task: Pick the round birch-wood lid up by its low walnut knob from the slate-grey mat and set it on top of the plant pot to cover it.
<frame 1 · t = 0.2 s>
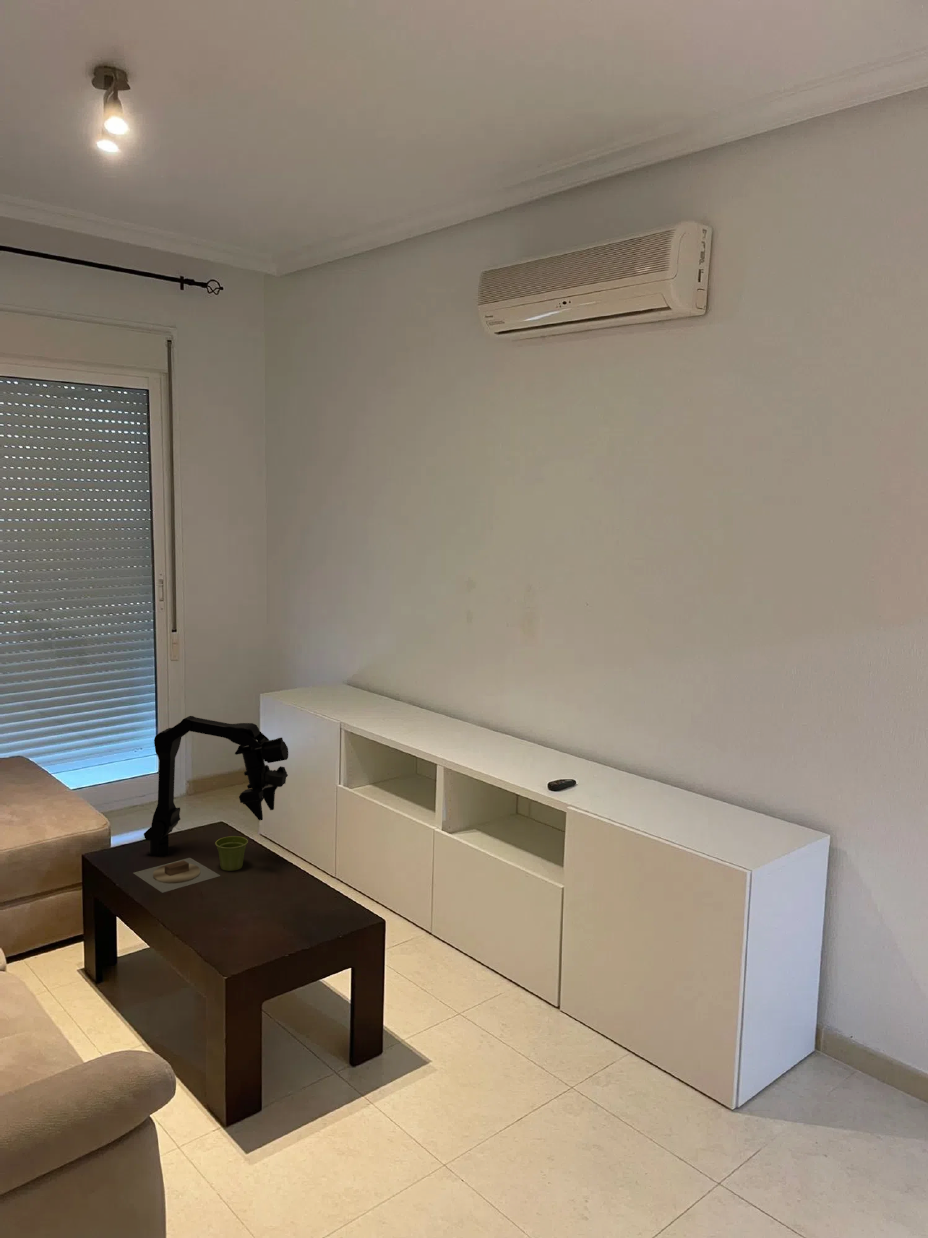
hand: (266, 815, 273), 15 cm above the table, tool pointing down, fingers open, 9 cm apart
mat: (176, 877, 262), on the table
lid: (176, 874, 262), point 1 cm above the table, touching mat
plant pot: (231, 870, 269), on the table
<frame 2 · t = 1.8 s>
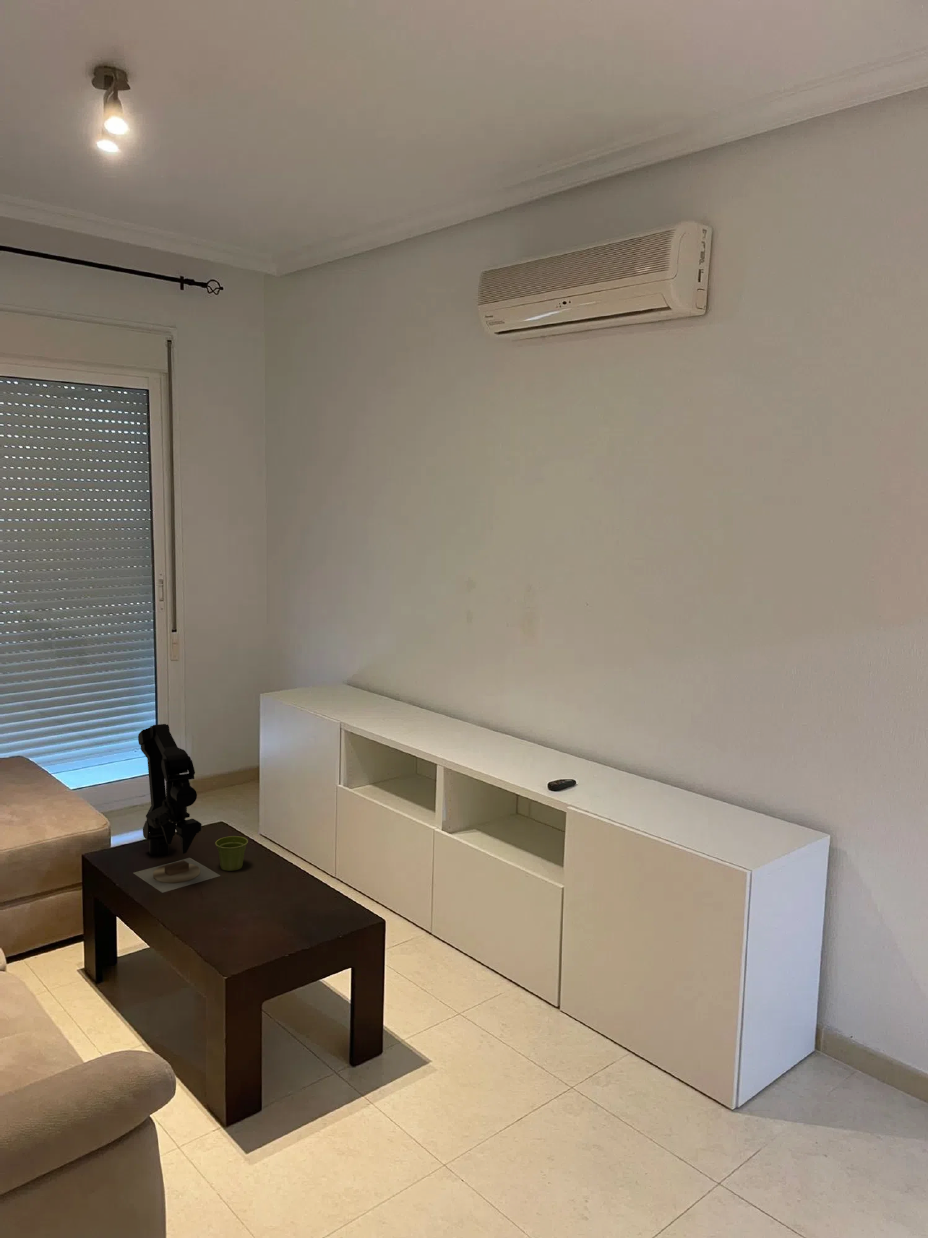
hand: (176, 848, 261), 9 cm above the table, tool pointing down, fingers open, 9 cm apart
nothing on the table moved.
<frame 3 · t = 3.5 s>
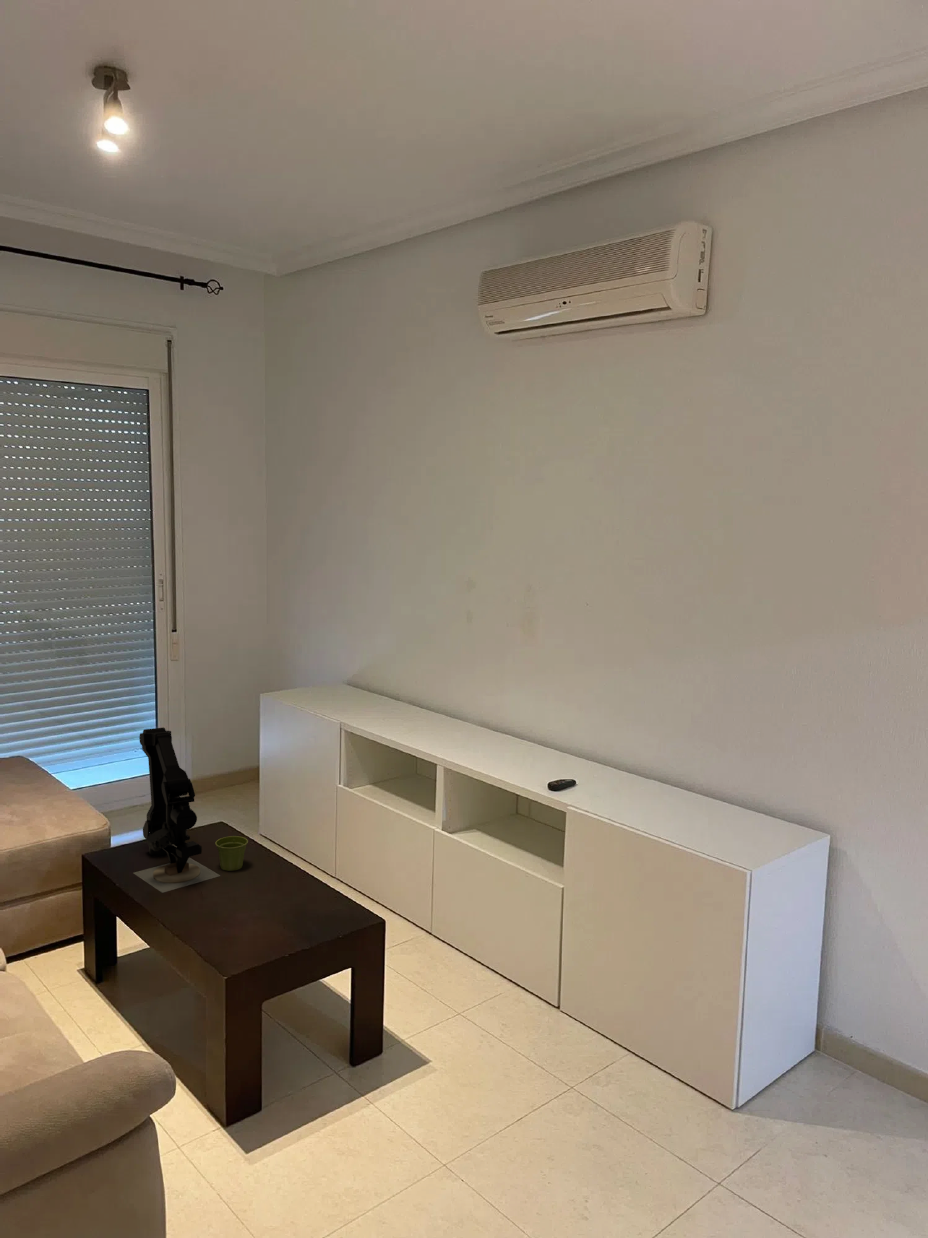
hand: (176, 871, 262), 2 cm above the table, tool pointing down, fingers closed on lid, 3 cm apart
lid: (176, 874, 262), point 1 cm above the table, touching gripper, mat
everything else where it was.
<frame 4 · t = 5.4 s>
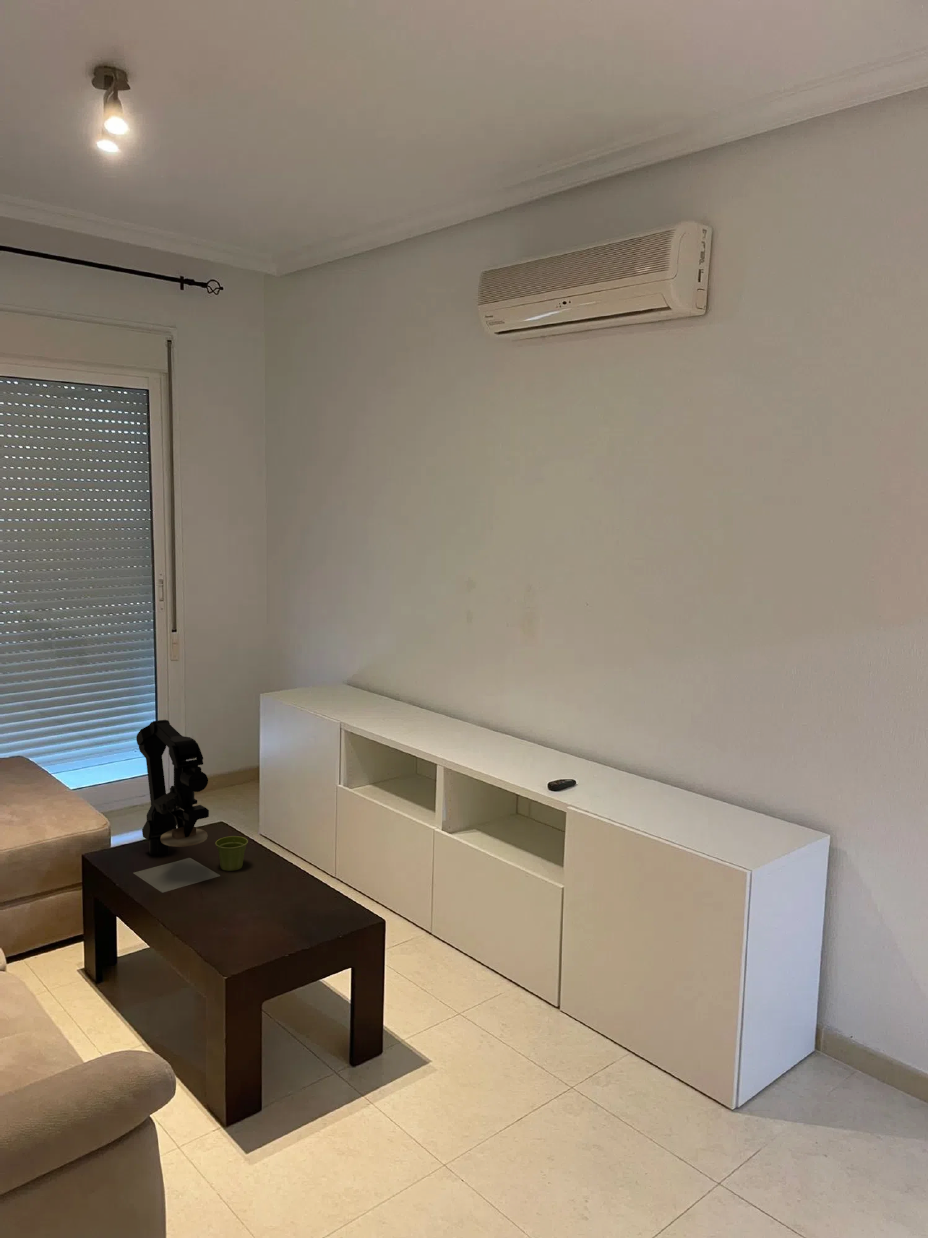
hand: (184, 835, 261), 13 cm above the table, tool pointing down, fingers closed on lid, 3 cm apart
lid: (184, 838, 262), point 12 cm above the table, touching gripper
everything else where it was.
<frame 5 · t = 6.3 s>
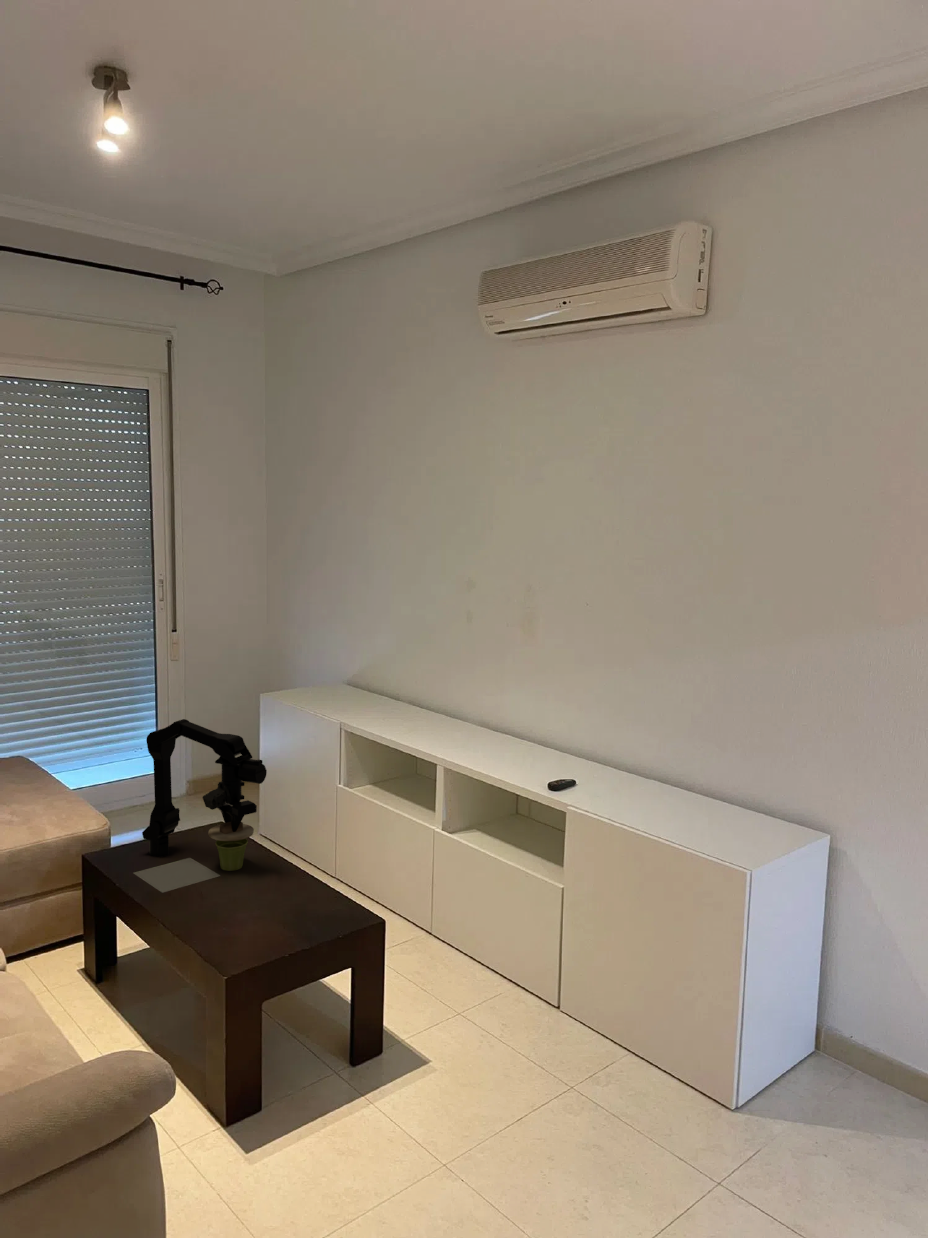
hand: (231, 830, 268), 12 cm above the table, tool pointing down, fingers closed on lid, 3 cm apart
lid: (231, 833, 268), point 11 cm above the table, touching gripper
everything else where it was.
when the fingers open (10 cm above the table, at t = 7.2 s): lid stays where it is, resting on plant pot.
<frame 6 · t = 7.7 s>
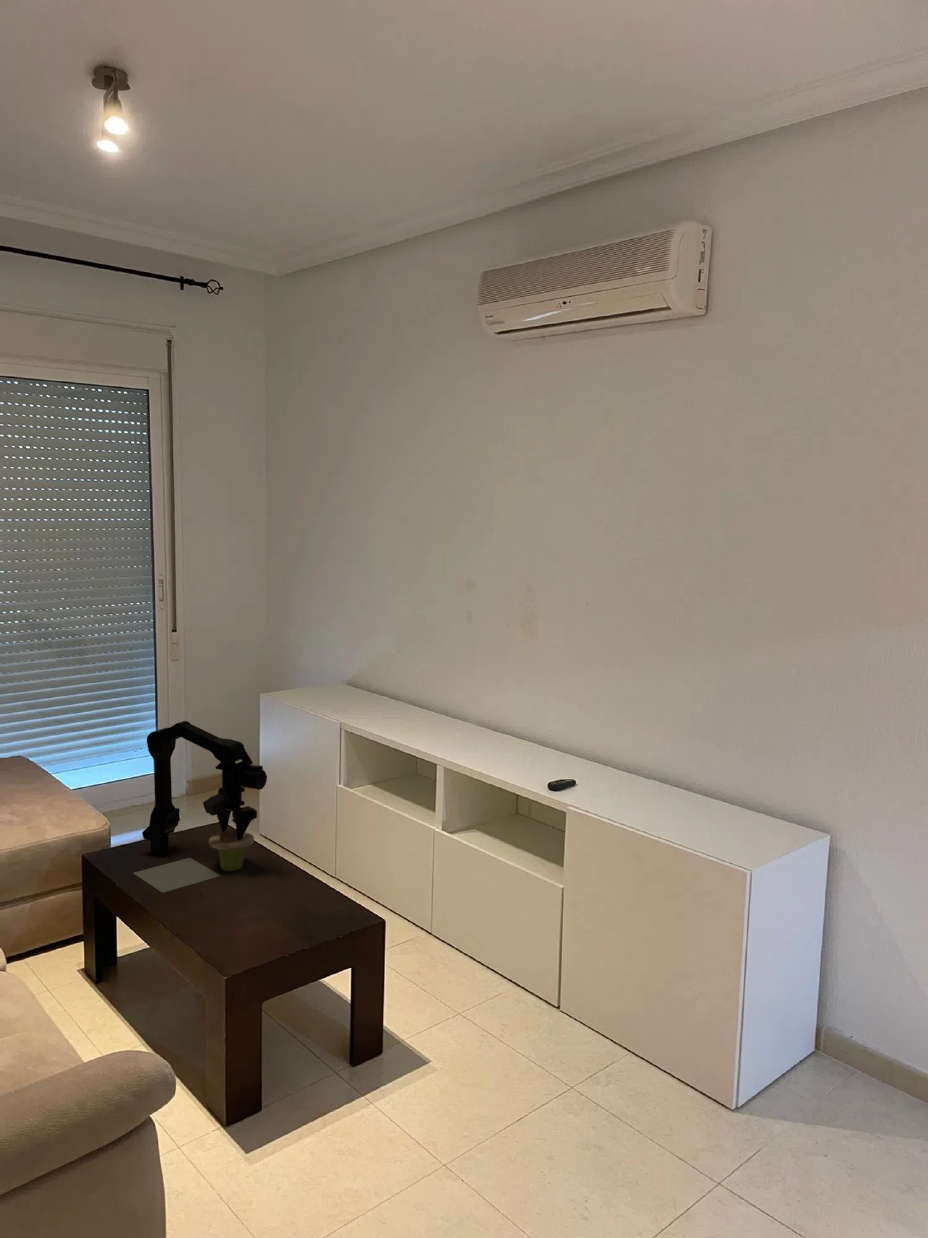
hand: (231, 835, 268), 10 cm above the table, tool pointing down, fingers open, 8 cm apart
lid: (231, 841, 268), point 9 cm above the table, touching plant pot
plant pot: (231, 870, 269), on the table, touching lid
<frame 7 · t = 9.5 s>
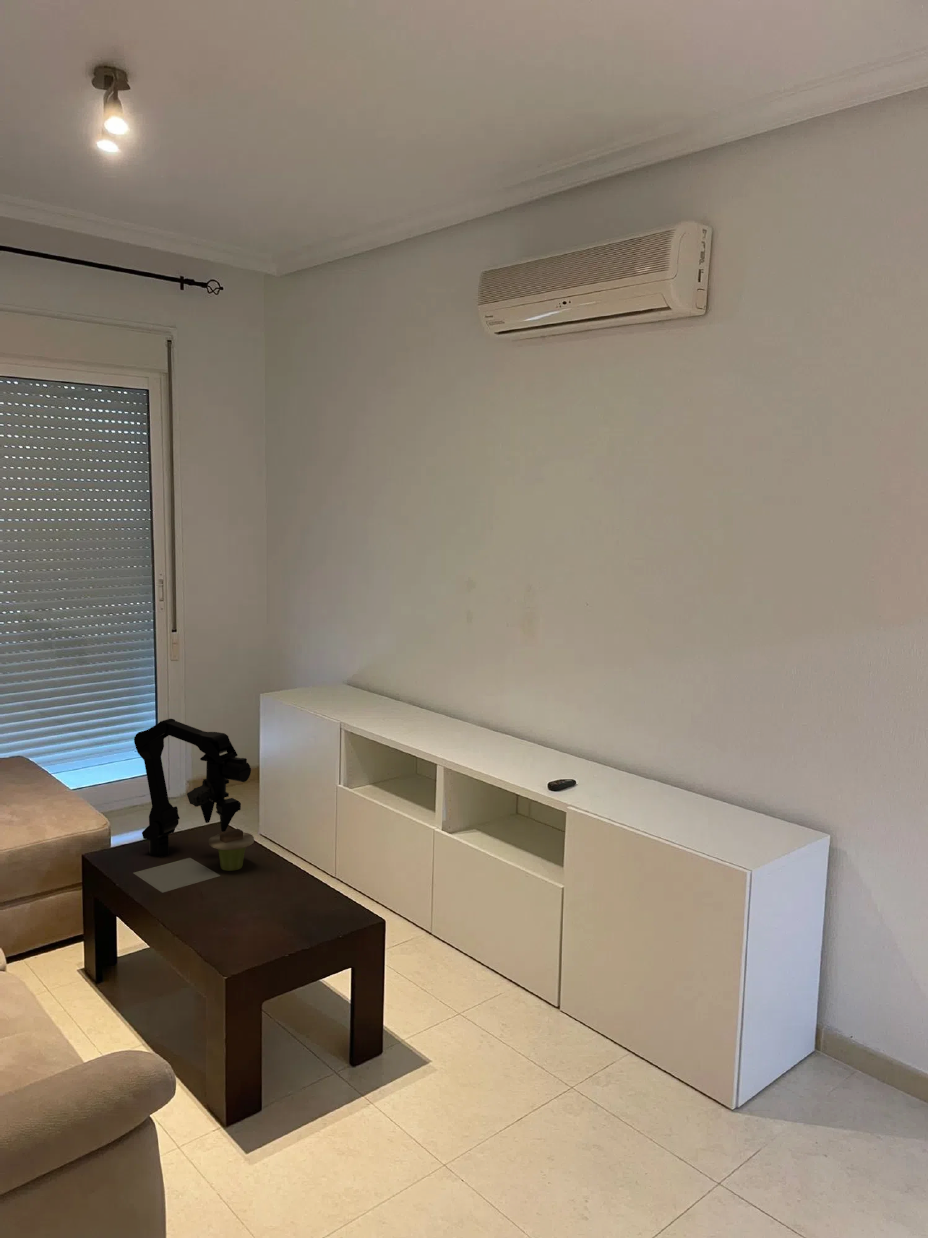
hand: (215, 827, 269), 13 cm above the table, tool pointing down, fingers open, 9 cm apart
nothing on the table moved.
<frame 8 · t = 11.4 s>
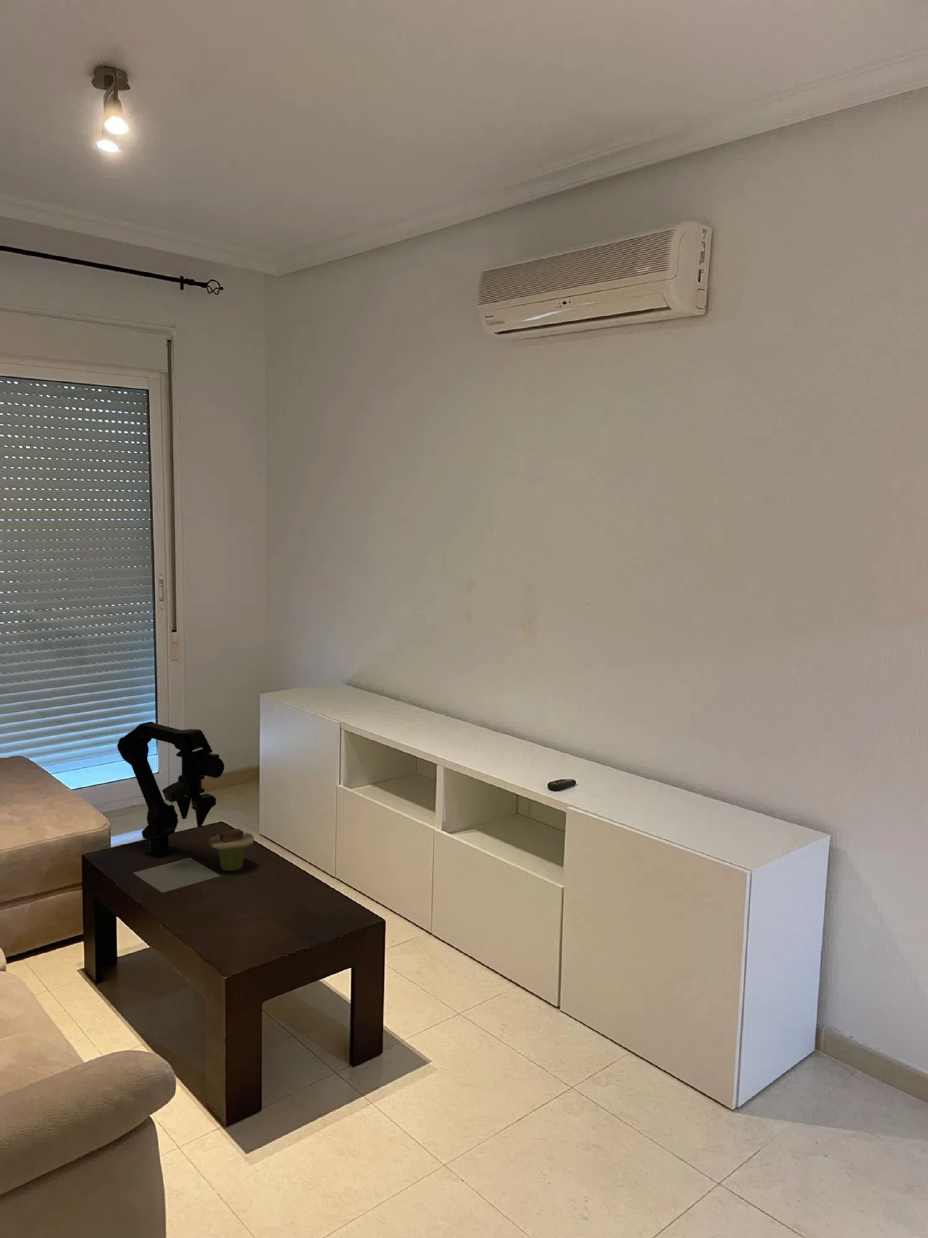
hand: (191, 823, 270), 13 cm above the table, tool pointing down, fingers open, 9 cm apart
nothing on the table moved.
at the end: lid 0.1 cm from the plant pot (horizontally); lid point 8.6 cm above the table; lid tilted 0° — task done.
